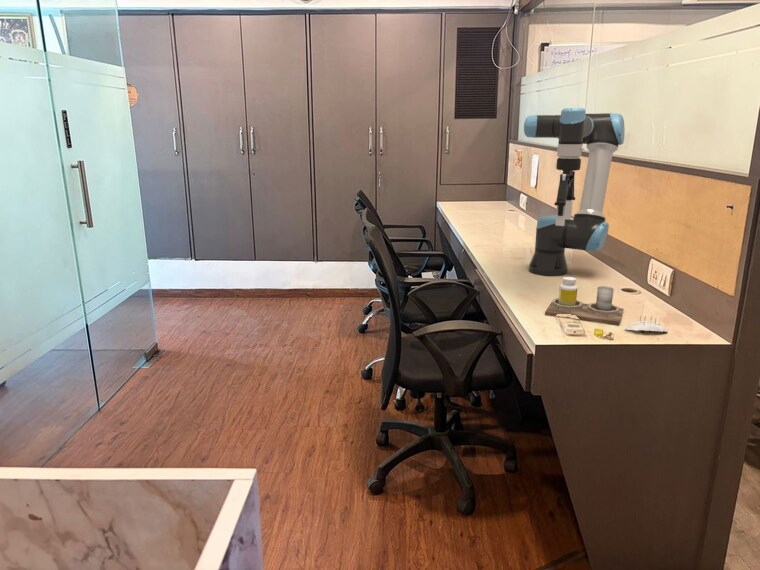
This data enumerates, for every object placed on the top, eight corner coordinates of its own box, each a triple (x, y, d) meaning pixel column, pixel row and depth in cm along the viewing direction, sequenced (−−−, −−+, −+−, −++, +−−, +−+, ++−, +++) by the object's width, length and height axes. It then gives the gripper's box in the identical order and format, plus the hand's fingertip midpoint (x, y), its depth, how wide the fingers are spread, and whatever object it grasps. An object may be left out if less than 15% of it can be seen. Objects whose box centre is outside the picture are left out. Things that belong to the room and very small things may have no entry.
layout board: (553, 302, 191) (555, 276, 188) (623, 312, 181) (626, 284, 178) (544, 314, 179) (547, 287, 176) (619, 325, 169) (622, 296, 166)
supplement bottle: (578, 309, 179) (581, 280, 177) (561, 310, 179) (564, 280, 176) (571, 304, 185) (574, 276, 182) (555, 305, 184) (557, 276, 182)
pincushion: (627, 334, 162) (629, 316, 161) (621, 327, 168) (623, 309, 167) (671, 336, 161) (673, 317, 159) (663, 329, 167) (666, 311, 165)
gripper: (575, 160, 170) (568, 229, 176) (586, 155, 191) (580, 217, 197) (549, 159, 173) (544, 227, 179) (563, 155, 195) (558, 216, 201)
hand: (563, 222), depth 188 cm, fingers open, 13 cm apart
